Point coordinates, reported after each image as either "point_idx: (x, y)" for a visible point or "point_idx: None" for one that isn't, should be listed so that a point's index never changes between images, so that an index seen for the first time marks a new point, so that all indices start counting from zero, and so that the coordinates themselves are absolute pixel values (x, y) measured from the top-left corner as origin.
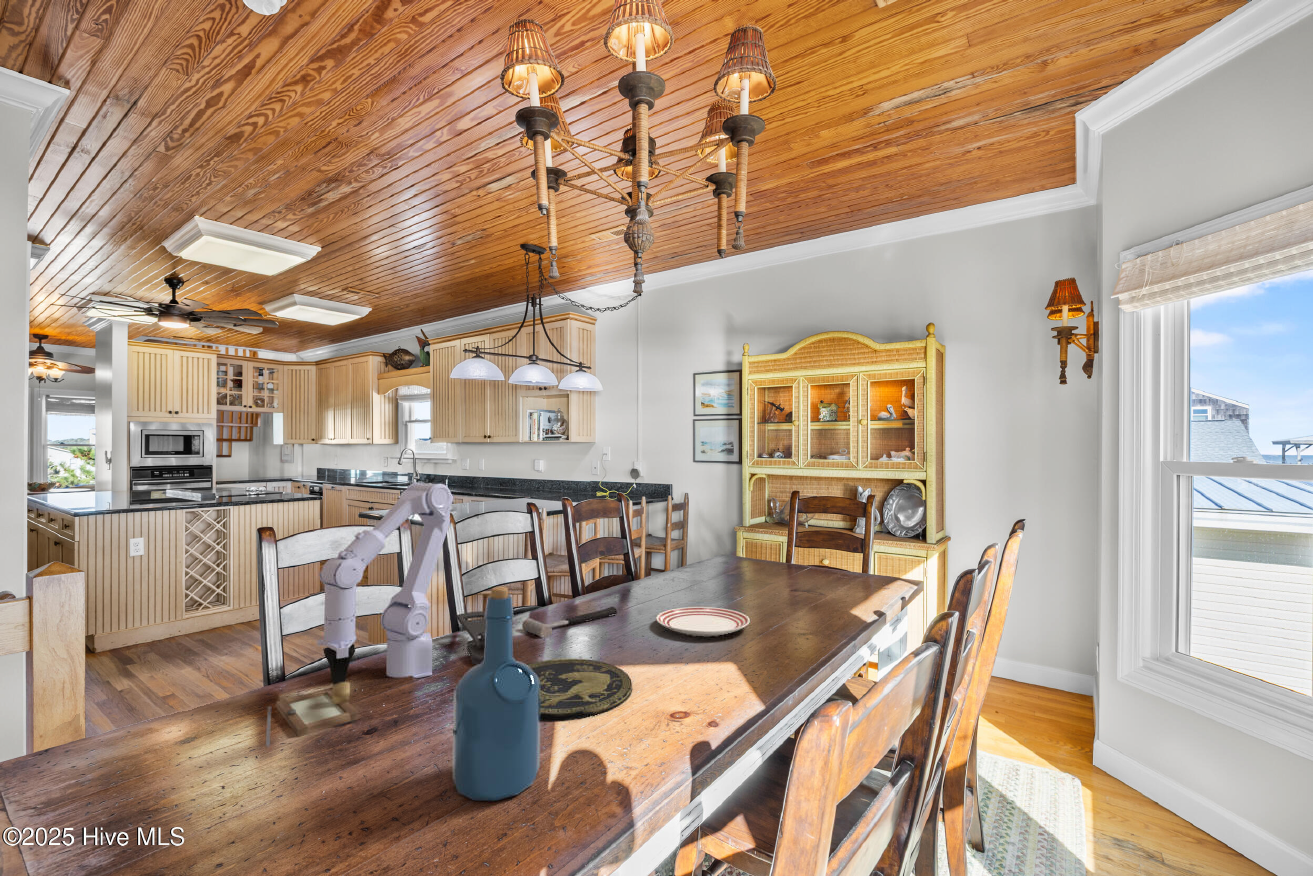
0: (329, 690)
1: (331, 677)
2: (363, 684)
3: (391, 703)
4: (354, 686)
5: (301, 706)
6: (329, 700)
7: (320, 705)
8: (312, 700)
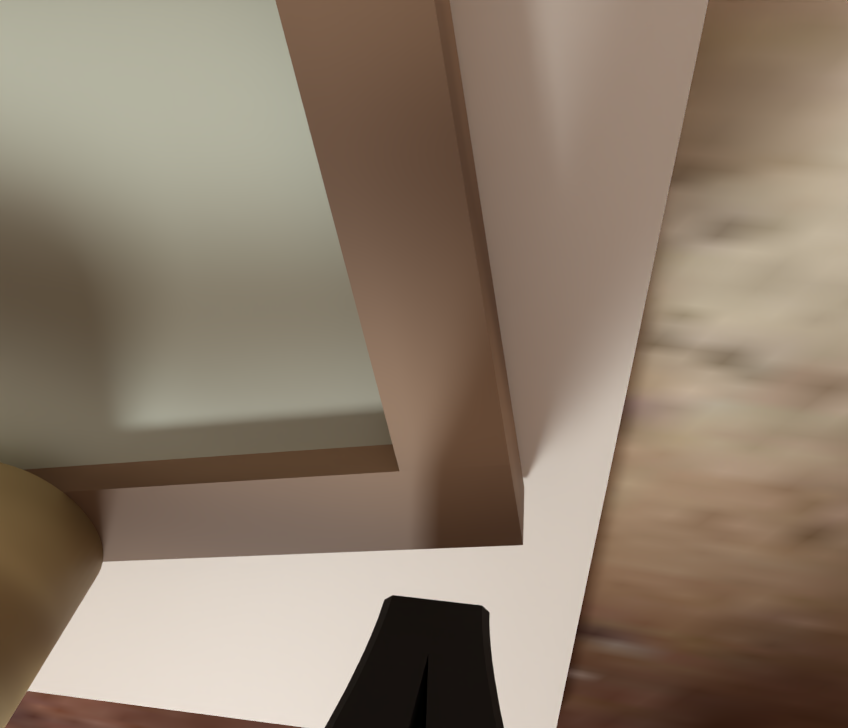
0: (421, 500)
1: (432, 674)
2: (704, 703)
3: (113, 721)
4: (715, 647)
5: (76, 106)
6: (166, 435)
7: (29, 331)
8: (260, 271)
